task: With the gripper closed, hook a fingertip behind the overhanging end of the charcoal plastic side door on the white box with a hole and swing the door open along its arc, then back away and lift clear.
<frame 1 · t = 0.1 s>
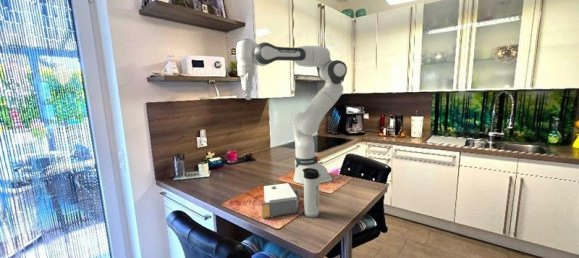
hand: (247, 99, 129), 48 cm above the table, fingers open, 8 cm apart
travel mug: (311, 214, 105), on the table
side door: (280, 207, 104), point 3 cm above the table, hinge at 0.0°
white box with hole: (280, 205, 114), on the table
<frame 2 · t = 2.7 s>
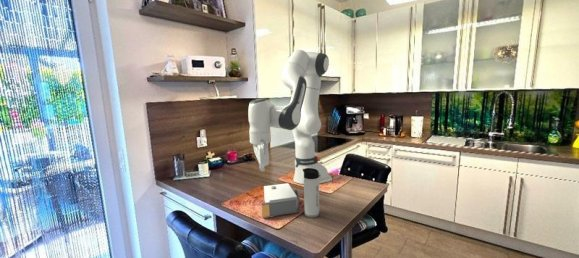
hand: (261, 169, 105), 19 cm above the table, fingers closed
nothing on the table moved.
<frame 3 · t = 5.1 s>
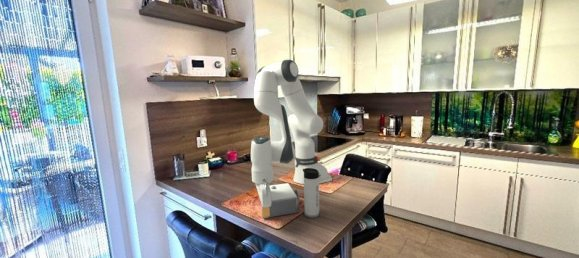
hand: (263, 207, 104), 4 cm above the table, fingers closed
side door: (280, 208, 104), point 3 cm above the table, hinge at 1.3°, touching gripper
everything else where it was.
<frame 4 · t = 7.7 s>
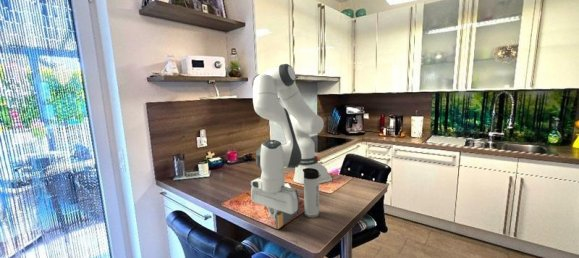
hand: (274, 217, 95), 4 cm above the table, fingers closed
side door: (288, 212, 100), point 3 cm above the table, hinge at 44.0°, touching gripper
everything else where it was.
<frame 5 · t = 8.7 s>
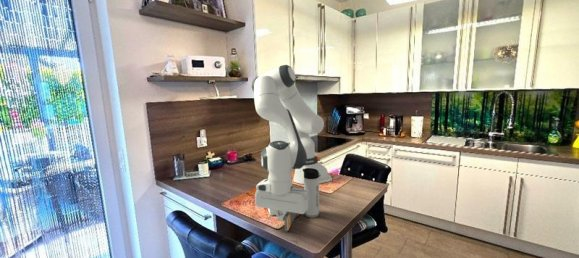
hand: (281, 220, 93), 4 cm above the table, fingers closed
side door: (292, 213, 99), point 3 cm above the table, hinge at 58.4°, touching gripper
everything else where it was.
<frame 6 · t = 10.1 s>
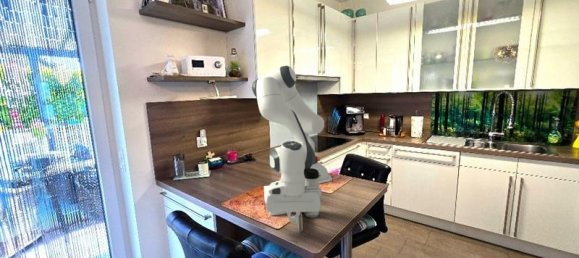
hand: (293, 221, 92), 4 cm above the table, fingers closed
side door: (298, 213, 99), point 3 cm above the table, hinge at 79.0°, touching gripper
everything else where it was.
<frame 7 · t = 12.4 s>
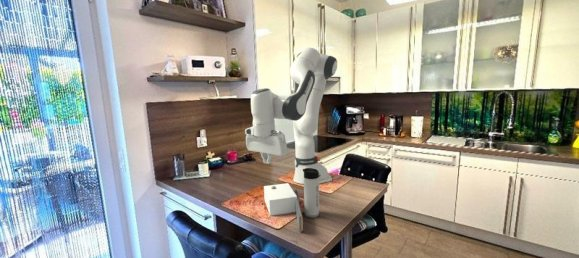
hand: (267, 163, 101), 23 cm above the table, fingers closed
side door: (298, 213, 99), point 3 cm above the table, hinge at 79.2°
everything else where it was.
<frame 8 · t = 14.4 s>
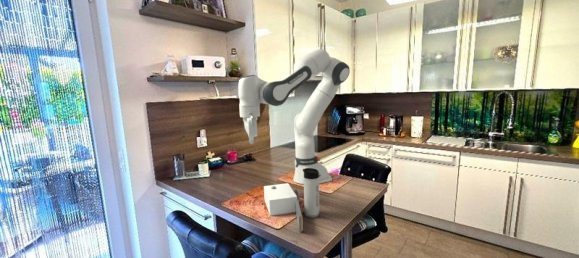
hand: (251, 143, 111), 29 cm above the table, fingers closed
nothing on the table moved.
at the end: side door at +79° (first picture: +0°); travel mug moved 0.2 cm from its start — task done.
